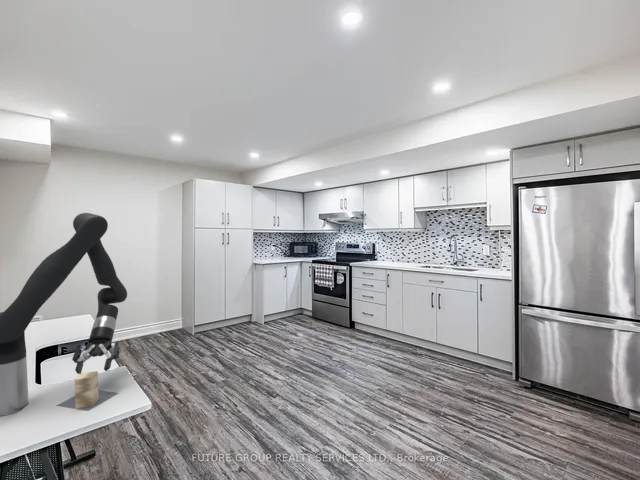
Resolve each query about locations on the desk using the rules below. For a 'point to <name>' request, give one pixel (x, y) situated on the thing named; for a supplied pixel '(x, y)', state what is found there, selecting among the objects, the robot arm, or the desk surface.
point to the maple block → (86, 389)
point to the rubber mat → (102, 398)
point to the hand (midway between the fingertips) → (92, 371)
